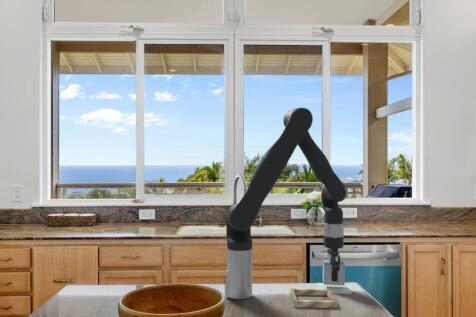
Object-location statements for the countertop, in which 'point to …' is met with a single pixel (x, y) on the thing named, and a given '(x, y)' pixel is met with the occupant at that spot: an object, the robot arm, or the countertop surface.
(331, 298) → the pocket tray
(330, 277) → the medicine box
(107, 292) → the countertop surface
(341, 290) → the sage mat
